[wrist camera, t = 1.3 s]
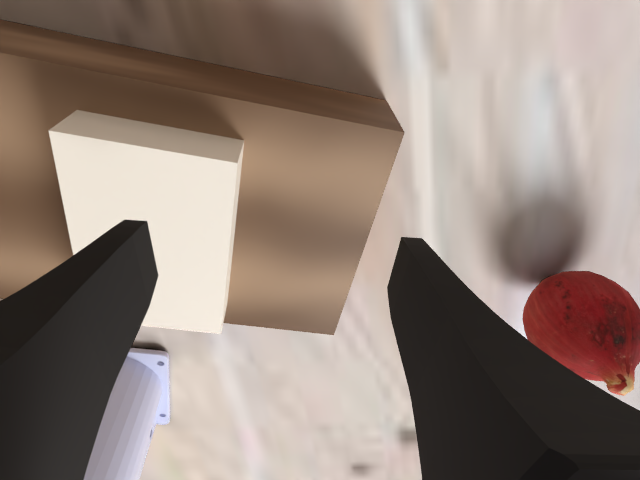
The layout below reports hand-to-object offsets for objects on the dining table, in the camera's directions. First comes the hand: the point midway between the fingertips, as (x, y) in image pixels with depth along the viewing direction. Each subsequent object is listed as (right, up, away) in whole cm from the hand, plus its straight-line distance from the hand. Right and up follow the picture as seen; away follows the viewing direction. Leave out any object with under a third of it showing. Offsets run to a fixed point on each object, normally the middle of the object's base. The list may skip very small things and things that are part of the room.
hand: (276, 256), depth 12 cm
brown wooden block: (-7, +4, +9) cm, 12 cm away
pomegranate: (+16, -2, +14) cm, 22 cm away
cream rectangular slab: (-5, +1, +5) cm, 7 cm away
